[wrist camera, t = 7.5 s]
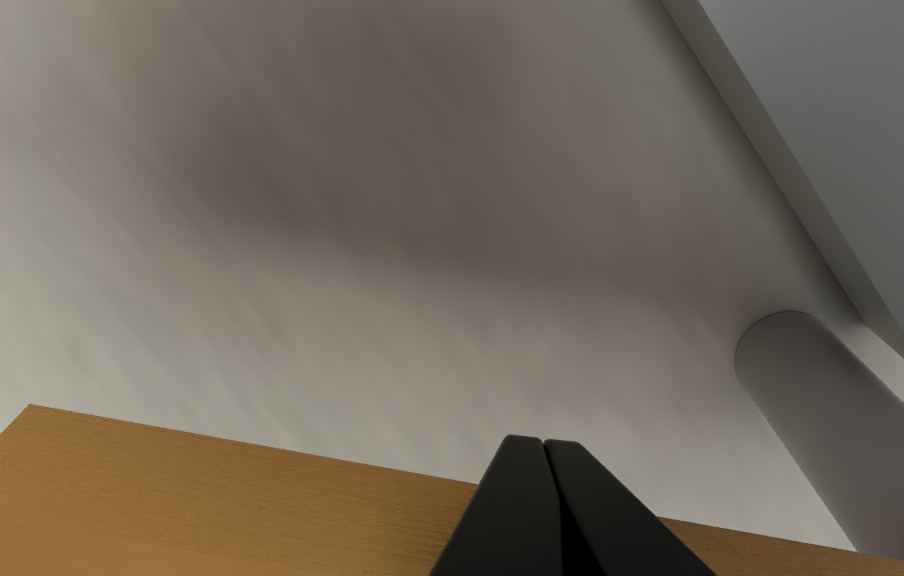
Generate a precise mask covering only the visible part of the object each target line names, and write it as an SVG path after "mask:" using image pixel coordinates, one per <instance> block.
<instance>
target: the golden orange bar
mask: <svg viewBox="0 0 904 576" xmlns="http://www.w3.org/2000/svg"><path fill="white" fill-rule="evenodd" d="M477 486H478V484H473V483H468V482H462V481H457V480H451V479H445V478H440V477H434V476H429V475H423V474H418V473H412V472H406V471H401V470H395V469H390V468H384V467H379V466H373V465H367V464H362V463H356V462H351V461H345V460H339V459H334V458H328V457H323V456H317V455H312V454H306V453H300V452H295V451H289V450H284V449H278V448H273V447H267V446H261V445H256V444H250V443H245V442H239V441H233V440H228V439H222V438H217V437H211V436H206V435H200V434H194V433H189V432H183V431H178V430H172V429H167V428H161V427H155V426H150V425H144V424H139V423H133V422H127V421H122V420H116V419H111V418H105V417H100V416H94V415H88V414H83V413H77V412H72V411H66V410H61V409H55V408H49V407H44V406H38V405H33V404H29V405H28V406H27V407H26V408H25V409H24V410H23V411H22V412H21V413H20V414H19V415H18V416H17V418H16V419H15V420H14V421H13V422H12V423H11V424H10V425H9V426H8V427H7V428H6V429H5V430H4V431H3V432H2V433H1V434H0V576H428V575H429V573H430V571H431V569H432V567H433V566H434V564H435V562H436V560H437V558H438V557H439V555H440V553H441V551H442V549H443V548H444V546H445V544H446V542H447V540H448V539H449V537H450V535H451V533H452V531H453V530H454V528H455V526H456V524H457V522H458V521H459V519H460V517H461V515H462V513H463V512H464V510H465V508H466V506H467V504H468V502H469V501H470V499H471V497H472V495H473V493H474V492H475V490H476V488H477ZM656 517H657V516H656ZM657 518H658V519H659V520H661V521H662V522H663V523H664V524H665V525H666V526H667V527H668V528H669V529H670V530H671V531H672V532H673V533H674V534H675V535H676V536H677V537H678V538H679V539H680V540H681V541H682V542H683V543H684V544H686V545H687V546H688V547H689V548H690V549H691V550H692V551H693V552H694V553H695V554H696V555H697V556H698V557H699V558H700V559H701V560H702V561H703V562H704V563H705V564H706V565H707V566H708V567H709V568H711V569H712V570H713V571H714V572H715V573H716V574H717V575H718V576H904V561H903V560H897V559H892V558H886V557H881V556H875V555H869V554H864V553H858V552H853V551H847V550H842V549H836V548H830V547H825V546H819V545H814V544H808V543H802V542H797V541H791V540H786V539H780V538H775V537H769V536H763V535H758V534H752V533H747V532H741V531H736V530H730V529H724V528H719V527H713V526H708V525H702V524H696V523H691V522H685V521H680V520H674V519H669V518H663V517H657Z"/></svg>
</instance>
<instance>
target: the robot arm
mask: <svg viewBox="0 0 904 576" xmlns="http://www.w3.org/2000/svg"><path fill="white" fill-rule="evenodd" d="M428 576H718V575H717V574H716V573H715V572H714V571H713V570H712V569H711V568H709V567H708V566H707V565H706V564H705V563H704V562H703V561H702V560H701V559H700V558H699V557H698V556H697V555H696V554H695V553H694V552H693V551H692V550H691V549H690V548H689V547H688V546H687V545H686V544H684V543H683V542H682V541H681V540H680V539H679V538H678V537H677V536H676V535H675V534H674V533H673V532H672V531H671V530H670V529H669V528H668V527H667V526H666V525H665V524H664V523H663V522H662V521H661V520H659V519H658V518H657V517H656V516H655V515H654V514H653V513H652V512H651V511H650V510H649V509H648V508H647V507H646V506H645V505H644V504H643V503H642V502H641V501H640V500H639V499H638V498H637V497H636V496H634V495H633V494H632V493H631V492H630V491H629V490H628V489H627V488H626V487H625V486H624V485H623V484H622V483H621V482H620V481H619V480H618V479H617V478H616V477H615V476H614V475H613V474H612V473H611V472H610V471H608V470H607V469H606V468H605V467H604V466H603V465H602V464H601V463H600V462H599V461H598V460H597V459H596V458H595V457H594V456H593V455H592V454H591V453H590V452H589V451H588V450H587V449H586V448H585V447H583V446H582V445H581V444H580V443H578V442H573V441H564V440H555V439H547V440H545V441H544V442H543V443H542V441H541V440H540V439H539V438H537V437H528V436H520V435H507V436H506V437H505V438H504V439H503V441H502V443H501V445H500V447H499V448H498V450H497V452H496V454H495V456H494V457H493V459H492V461H491V463H490V465H489V466H488V468H487V470H486V472H485V474H484V475H483V477H482V479H481V481H480V483H479V484H478V486H477V488H476V490H475V492H474V493H473V495H472V497H471V499H470V501H469V502H468V504H467V506H466V508H465V510H464V512H463V513H462V515H461V517H460V519H459V521H458V522H457V524H456V526H455V528H454V530H453V531H452V533H451V535H450V537H449V539H448V540H447V542H446V544H445V546H444V548H443V549H442V551H441V553H440V555H439V557H438V558H437V560H436V562H435V564H434V566H433V567H432V569H431V571H430V573H429V575H428Z"/></svg>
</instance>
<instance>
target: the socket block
mask: <svg viewBox="0 0 904 576" xmlns="http://www.w3.org/2000/svg"><path fill="white" fill-rule="evenodd" d="M660 1H661V2H662V4H663V5H664V7H665V8H666V10H667V12H668V13H669V15H670V16H671V18H672V20H673V21H674V23H675V24H676V26H677V27H678V29H679V31H680V32H681V34H682V35H683V37H684V38H685V40H686V42H687V43H688V45H689V46H690V48H691V50H692V51H693V53H694V54H695V56H696V57H697V59H698V61H699V62H700V64H701V65H702V67H703V68H704V70H705V72H706V73H707V75H708V76H709V78H710V79H711V81H712V83H713V84H714V86H715V87H716V89H717V91H718V92H719V94H720V95H721V97H722V98H723V100H724V102H725V103H726V105H727V106H728V108H729V109H730V111H731V113H732V114H733V116H734V117H735V119H736V121H737V122H738V124H739V125H740V127H741V128H742V130H743V132H744V133H745V135H746V136H747V138H748V139H749V141H750V143H751V144H752V146H753V147H754V149H755V150H756V152H757V154H758V155H759V157H760V158H761V160H762V162H763V163H764V165H765V166H766V168H767V169H768V171H769V173H770V174H771V176H772V177H773V179H774V180H775V182H776V184H777V185H778V187H779V188H780V190H781V191H782V193H783V195H784V196H785V198H786V199H787V201H788V203H789V204H790V206H791V207H792V209H793V210H794V212H795V214H796V215H797V217H798V218H799V220H800V221H801V223H802V225H803V226H804V228H805V229H806V231H807V233H808V234H809V236H810V237H811V239H812V240H813V242H814V244H815V245H816V247H817V248H818V250H819V251H820V253H821V255H822V256H823V258H824V259H825V261H826V262H827V264H828V266H829V267H830V269H831V270H832V272H833V274H834V275H835V277H836V278H837V280H838V281H839V283H840V285H841V286H842V288H843V289H844V291H845V292H846V294H847V296H848V297H849V299H850V300H851V302H852V304H853V305H854V307H855V308H856V310H857V311H858V313H859V315H860V316H861V318H862V319H863V321H864V322H865V324H866V326H868V327H869V328H870V329H871V330H872V331H873V332H874V333H875V334H877V335H878V336H879V337H880V338H881V339H882V340H883V341H885V342H886V343H887V344H888V345H889V346H890V347H891V348H893V349H894V350H895V351H896V352H897V353H898V354H899V355H901V356H902V357H903V358H904V0H660ZM735 369H736V373H737V376H738V378H739V379H740V381H741V383H742V384H743V386H744V387H745V388H746V390H747V391H748V393H749V394H750V396H751V397H752V399H753V400H754V402H755V403H756V404H757V406H758V407H759V409H760V410H761V412H762V413H763V415H764V416H765V418H766V419H767V420H768V422H769V423H770V425H771V426H772V428H773V429H774V431H775V432H776V434H777V435H778V437H779V438H780V439H781V441H782V442H783V444H784V445H785V447H786V448H787V450H788V451H789V453H790V454H791V455H792V457H793V458H794V460H795V461H796V463H797V464H798V466H799V467H800V469H801V470H802V472H803V473H804V474H805V476H806V477H807V479H808V480H809V482H810V483H811V485H812V486H813V488H814V489H815V490H816V492H817V493H818V495H819V496H820V498H821V499H822V501H823V502H824V504H825V505H826V506H827V508H828V509H829V511H830V512H831V514H832V515H833V517H834V518H835V520H836V521H837V523H838V524H839V525H840V527H841V528H842V530H843V531H844V533H845V534H846V536H847V537H848V539H849V540H850V541H851V543H852V544H853V546H854V547H855V549H856V550H857V552H858V553H864V554H869V555H875V556H881V557H886V558H892V559H897V560H903V561H904V403H903V402H902V401H901V400H900V399H899V398H898V397H897V396H896V395H895V394H894V393H893V392H892V391H891V390H890V389H889V388H888V387H887V386H886V385H885V384H884V383H883V382H882V381H881V380H880V379H879V378H878V377H877V376H876V375H875V374H874V373H873V372H872V371H871V370H870V369H869V368H868V367H867V366H865V365H864V364H863V363H862V362H861V361H860V360H859V359H858V358H857V357H856V356H855V355H854V354H853V353H852V352H851V351H850V350H849V349H848V348H847V347H846V346H845V345H844V344H843V343H842V342H841V341H840V340H839V339H838V338H837V337H836V336H835V335H834V334H833V333H832V332H831V331H830V330H829V329H828V328H827V327H826V326H825V325H824V324H822V323H821V322H820V321H819V320H818V319H816V318H814V317H812V316H810V315H808V314H804V313H799V312H783V313H778V314H775V315H771V316H769V317H767V318H765V319H763V320H761V321H759V322H758V323H756V324H755V325H754V326H753V327H752V328H750V329H749V330H748V331H747V333H746V334H745V335H744V336H743V338H742V339H741V341H740V343H739V345H738V347H737V350H736V354H735Z"/></svg>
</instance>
